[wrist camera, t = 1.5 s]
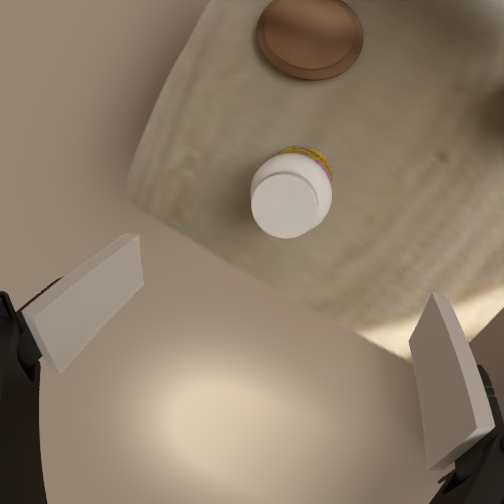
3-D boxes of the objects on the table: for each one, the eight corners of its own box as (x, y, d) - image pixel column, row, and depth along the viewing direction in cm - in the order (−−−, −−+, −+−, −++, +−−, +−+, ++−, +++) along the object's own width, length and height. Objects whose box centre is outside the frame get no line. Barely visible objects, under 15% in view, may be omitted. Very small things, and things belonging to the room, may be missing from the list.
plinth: (264, -10, 22) (260, -16, 20) (364, 2, 20) (366, -5, 18) (254, 74, 27) (249, 71, 25) (357, 88, 25) (358, 86, 24)
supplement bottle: (344, 172, 30) (353, 207, 19) (305, 214, 33) (289, 269, 22) (297, 131, 29) (276, 140, 18) (260, 175, 32) (219, 211, 21)
